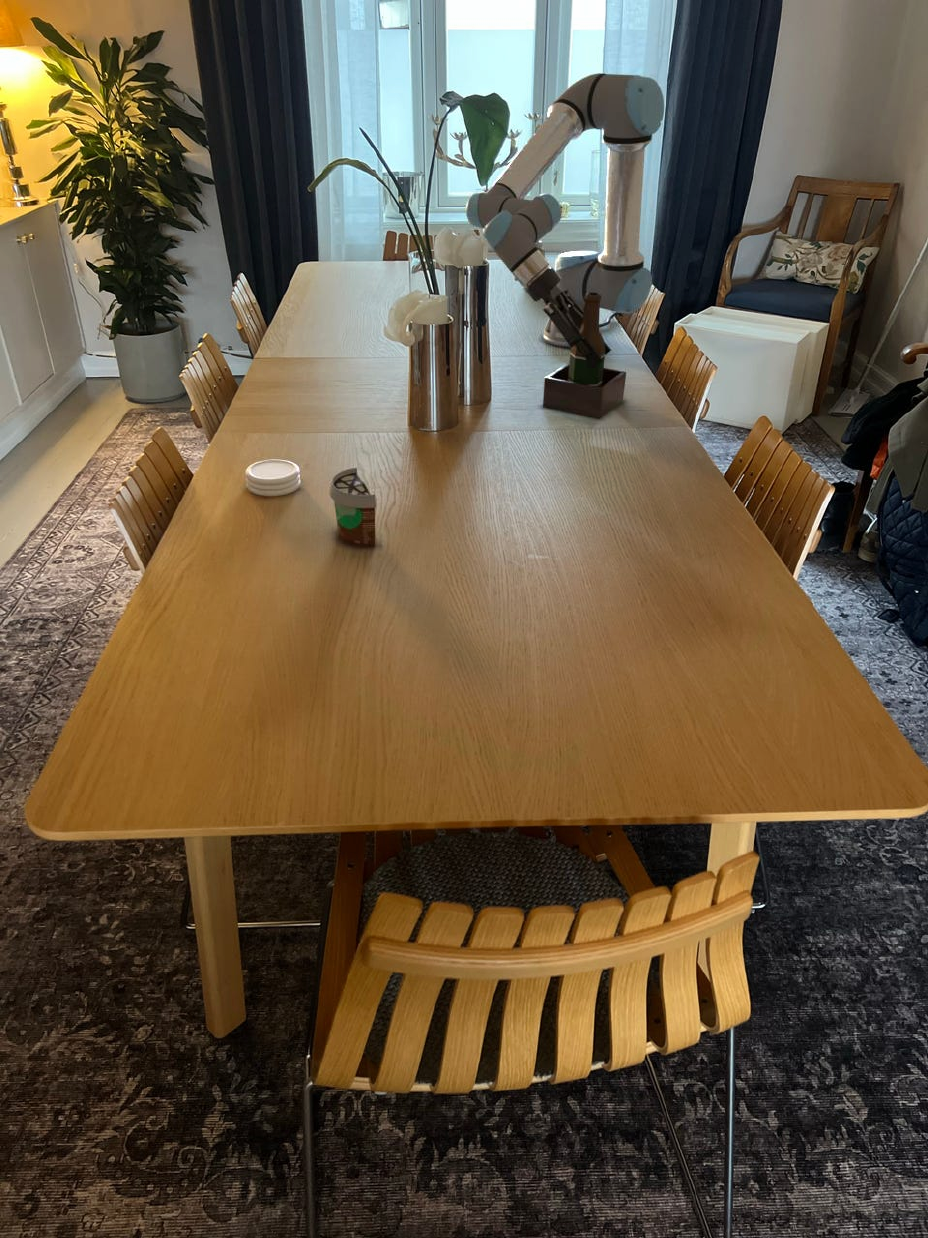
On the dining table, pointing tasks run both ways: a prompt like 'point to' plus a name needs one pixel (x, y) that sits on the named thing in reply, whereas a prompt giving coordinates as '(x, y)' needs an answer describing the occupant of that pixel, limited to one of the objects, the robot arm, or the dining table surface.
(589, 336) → the beer bottle
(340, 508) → the food container
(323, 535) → the dining table surface
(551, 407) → the box
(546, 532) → the dining table surface
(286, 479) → the coaster
